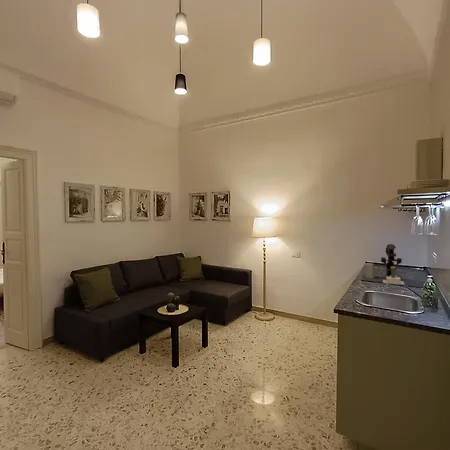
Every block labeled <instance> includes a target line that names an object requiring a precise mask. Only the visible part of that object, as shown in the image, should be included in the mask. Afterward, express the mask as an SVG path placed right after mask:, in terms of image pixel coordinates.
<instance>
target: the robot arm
mask: <svg viewBox="0 0 450 450" xmlns="http://www.w3.org/2000/svg"><path fill="white" fill-rule="evenodd" d="M395 249H396V246H395V244H394V243H393V244H392V243H390V244H389V243H388V244H387V245H386V247H385V254H386V256H387V258H386V257H385V256H384V257H383V256H381V258H380V261H381V263H383V264H384V265H385V269H386V270H385V271H386V277H390V275H391V267H395V272H396V269H397V267H398V266H399V264H402V260H403V259H402V257H397V253H396V252H395ZM395 257H397V258H395ZM395 262H396V265H395Z"/></svg>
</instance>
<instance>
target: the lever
mask: <svg viewBox="0 0 450 450" xmlns="http://www.w3.org/2000/svg"><path fill="white" fill-rule="evenodd" d="M395 276H396V271H395V267H391V277H395Z"/></svg>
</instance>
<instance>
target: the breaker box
mask: <svg viewBox="0 0 450 450" xmlns="http://www.w3.org/2000/svg"><path fill="white" fill-rule="evenodd" d="M385 277H386V278H385V279H382V283H383V284H385V285H386V284H387V285H399V286H405V282H404V281H402V280H401V277H398V276H397V275H395V277H391V275H390V276H385Z"/></svg>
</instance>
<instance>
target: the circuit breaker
mask: <svg viewBox="0 0 450 450" xmlns="http://www.w3.org/2000/svg"><path fill="white" fill-rule="evenodd" d="M363 265H364V273H363V274H364V275H363V277H364V278H365V279H375V276H379V275H380V272H381V269H380V268H379V267H378V266H375V264H374V263H373V262H372V263H371V262H370V263H369V262H367V263H366V262H364V264H363Z"/></svg>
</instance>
